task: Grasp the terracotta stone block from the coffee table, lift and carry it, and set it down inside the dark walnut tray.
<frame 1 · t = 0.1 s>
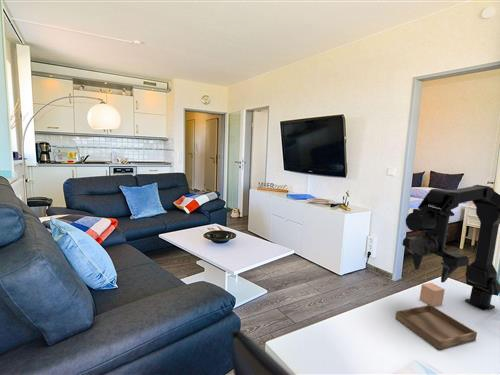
hand: (429, 275, 93), 14 cm above the table, fingers open, 9 cm apart
walnut tray: (433, 328, 89), on the table
terracotta block: (430, 302, 105), on the table
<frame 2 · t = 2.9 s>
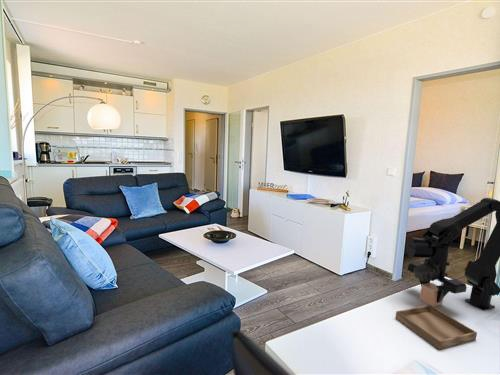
hand: (431, 298, 104), 1 cm above the table, fingers closed on terracotta block, 5 cm apart
terracotta block: (430, 301, 104), on the table, touching gripper
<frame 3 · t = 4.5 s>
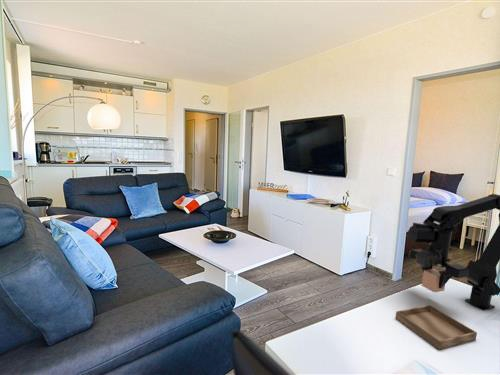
hand: (433, 284, 103), 7 cm above the table, fingers closed on terracotta block, 5 cm apart
terracotta block: (432, 288, 104), point 5 cm above the table, touching gripper
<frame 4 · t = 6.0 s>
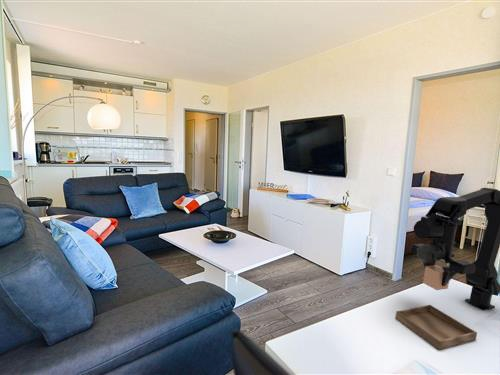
hand: (435, 281, 95), 11 cm above the table, fingers closed on terracotta block, 5 cm apart
terracotta block: (435, 285, 96), point 10 cm above the table, touching gripper
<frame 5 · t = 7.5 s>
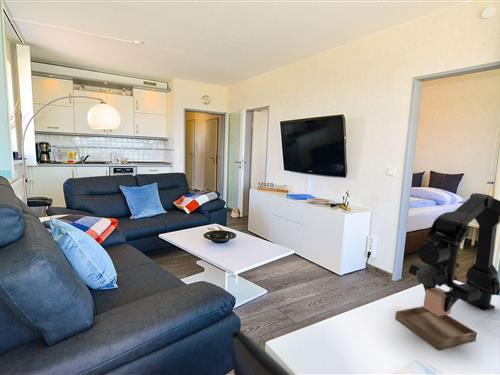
hand: (437, 306, 88), 7 cm above the table, fingers closed on terracotta block, 5 cm apart
terracotta block: (436, 310, 88), point 6 cm above the table, touching gripper
when the fingers open (3 cm above the table, at t = 9.0 s): terracotta block drops 1 cm, resting on walnut tray.
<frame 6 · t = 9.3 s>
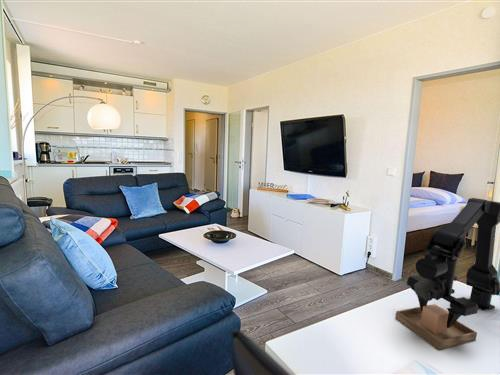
hand: (435, 319, 88), 3 cm above the table, fingers open, 8 cm apart
terracotta block: (433, 327, 89), resting on walnut tray
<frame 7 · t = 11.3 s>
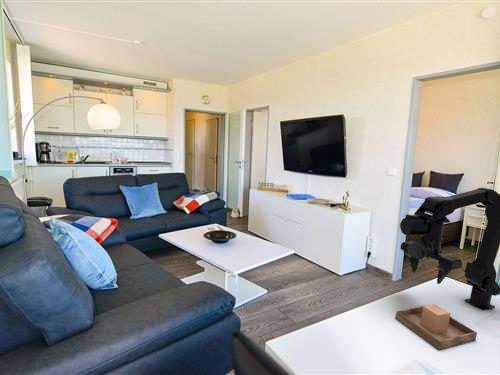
hand: (425, 277, 100), 11 cm above the table, fingers open, 9 cm apart
nothing on the table moved.
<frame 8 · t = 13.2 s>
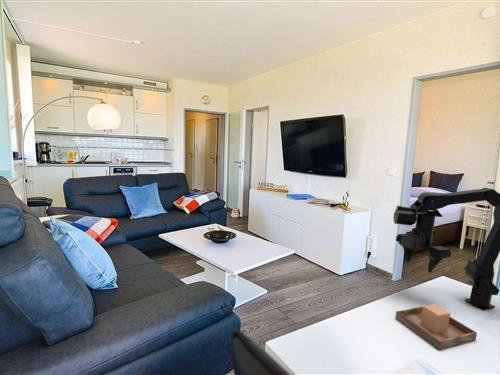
hand: (418, 266, 108), 11 cm above the table, fingers open, 9 cm apart
nothing on the table moved.
at the end: terracotta block inside the target area on the walnut tray (0.0 cm from its centre), point 0.5 cm above the walnut tray's base; the gripper is holding nothing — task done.
